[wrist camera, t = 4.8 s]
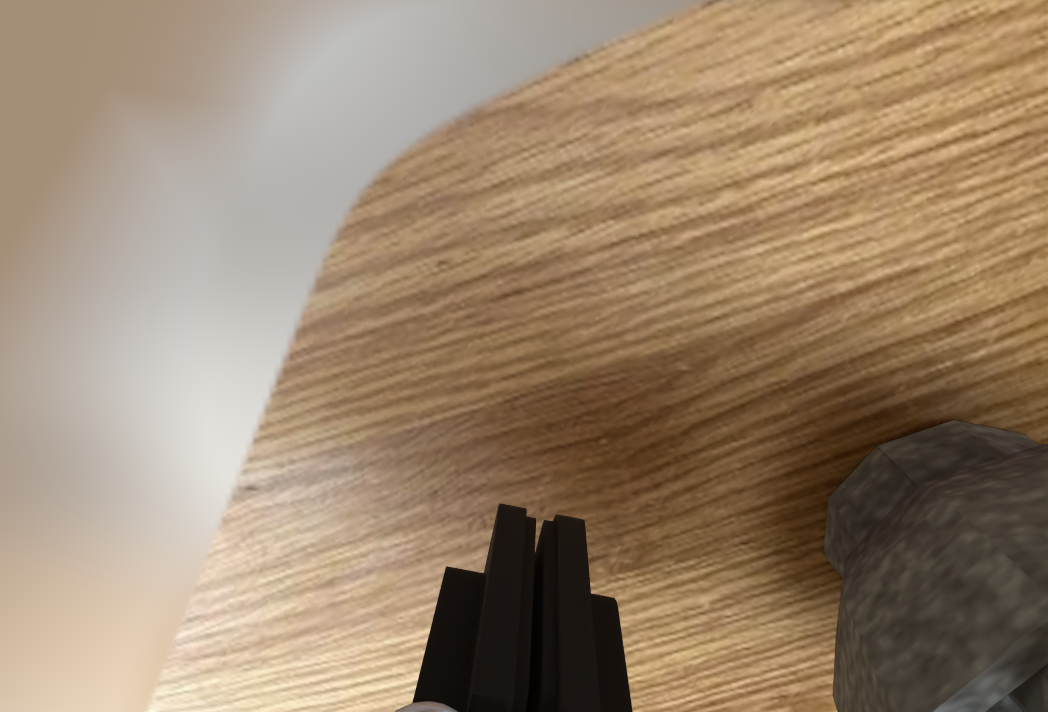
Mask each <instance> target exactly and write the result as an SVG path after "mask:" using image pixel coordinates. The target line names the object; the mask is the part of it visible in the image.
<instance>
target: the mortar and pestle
mask: <svg viewBox="0 0 1048 712" xmlns="http://www.w3.org/2000/svg"><path fill="white" fill-rule="evenodd" d="M823 554H824V555H825V556H826V558H827V559H828V560H829V562H830V563H831V564H832V566H833V567H834V569H835V570H836V571H837V573H838V574H839V575H840V576H841V577H842V586H841V595H840V604H839V613H838V622H837V632H836V644H835V662H834V681H833V698H834V701H835V705H836V708H837V711H838V712H1048V444H1042V445H1039V444H1038V443H1036V442H1035V441H1034V440H1032V439H1031V438H1029V437H1028V436H1027V435H1025V434H1021V433H1016V432H1011V431H1007V430H1002V429H997V428H992V427H987V426H982V425H977V424H972V423H967V422H962V421H957V420H952V421H949V422H946V423H943V424H940V425H937V426H934V427H931V428H928V429H925V430H922V431H919V432H916V433H913V434H910V435H907V436H904V437H901V438H898V439H895V440H892V441H889V442H886V443H883V444H880V445H877V446H876V448H875V449H874V450H873V451H872V452H871V453H870V454H869V455H868V456H867V457H866V458H865V459H864V460H863V461H862V462H861V463H860V465H859V466H858V467H857V468H856V469H855V470H854V471H853V472H852V473H851V474H850V475H849V476H848V477H847V478H846V479H845V481H844V482H843V483H842V484H841V485H840V486H839V487H838V488H837V489H836V490H835V491H834V492H833V493H832V494H831V495H830V496H829V498H828V508H827V519H826V529H825V540H824V551H823Z"/></svg>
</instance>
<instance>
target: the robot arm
mask: <svg viewBox="0 0 1048 712" xmlns="http://www.w3.org/2000/svg"><path fill="white" fill-rule="evenodd" d="M526 514H527V509H526V508H521V507H516V506H510V505H505V504H500V503H499V506H498V510H497V515H496V519H495V524H494V528H493V533H492V538H491V542H490V547H489V552H488V556H487V561H486V566H485V570H484V573H479V572H474V571H468V570H463V569H458V568H452V567H447V566H446V569H445V573H444V577H443V581H442V585H441V589H440V593H439V597H438V601H437V605H436V609H435V613H434V618H433V622H432V626H431V630H430V634H429V638H428V642H427V646H426V650H425V654H424V658H423V662H422V666H421V670H420V674H419V679H418V683H417V687H416V691H415V695H414V699H413V703H411V704H409V705H407V706H405V707H402V708H400V709H398V710H396V711H395V712H632V705H631V698H630V690H629V683H628V676H627V669H626V662H625V654H624V647H623V640H622V633H621V626H620V618H619V611H618V606H617V602H616V600H615V598H612V597H606V596H601V595H596V594H591V589H590V577H589V565H588V553H587V541H586V529H585V521H584V520H583V519H578V518H573V517H568V516H563V515H557V514H556V515H555V518H554V521H548V520H544V522H543V525H542V528H541V532H540V536H539V540H538V544H537V548H536V552H535V537H536V518H532V517H527V516H526Z"/></svg>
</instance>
